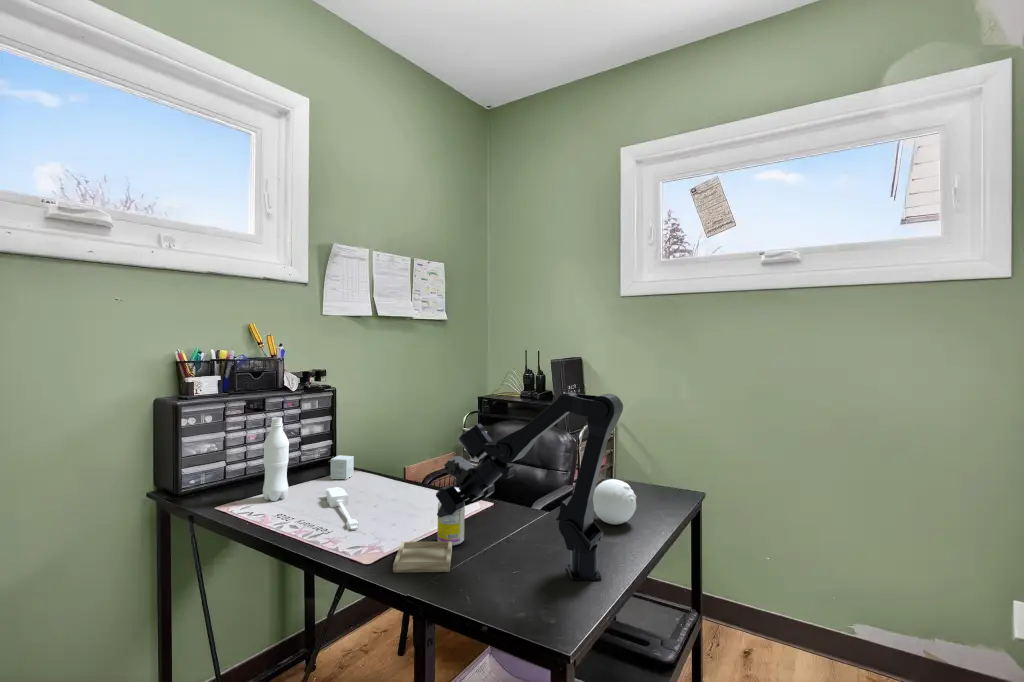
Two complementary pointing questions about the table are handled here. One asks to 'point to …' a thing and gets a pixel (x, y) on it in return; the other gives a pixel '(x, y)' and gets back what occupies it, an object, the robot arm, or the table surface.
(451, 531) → the supplement bottle
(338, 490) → the white toy mallet
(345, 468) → the product box
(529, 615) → the table surface
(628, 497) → the decorative ball
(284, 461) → the water bottle
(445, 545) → the tray
